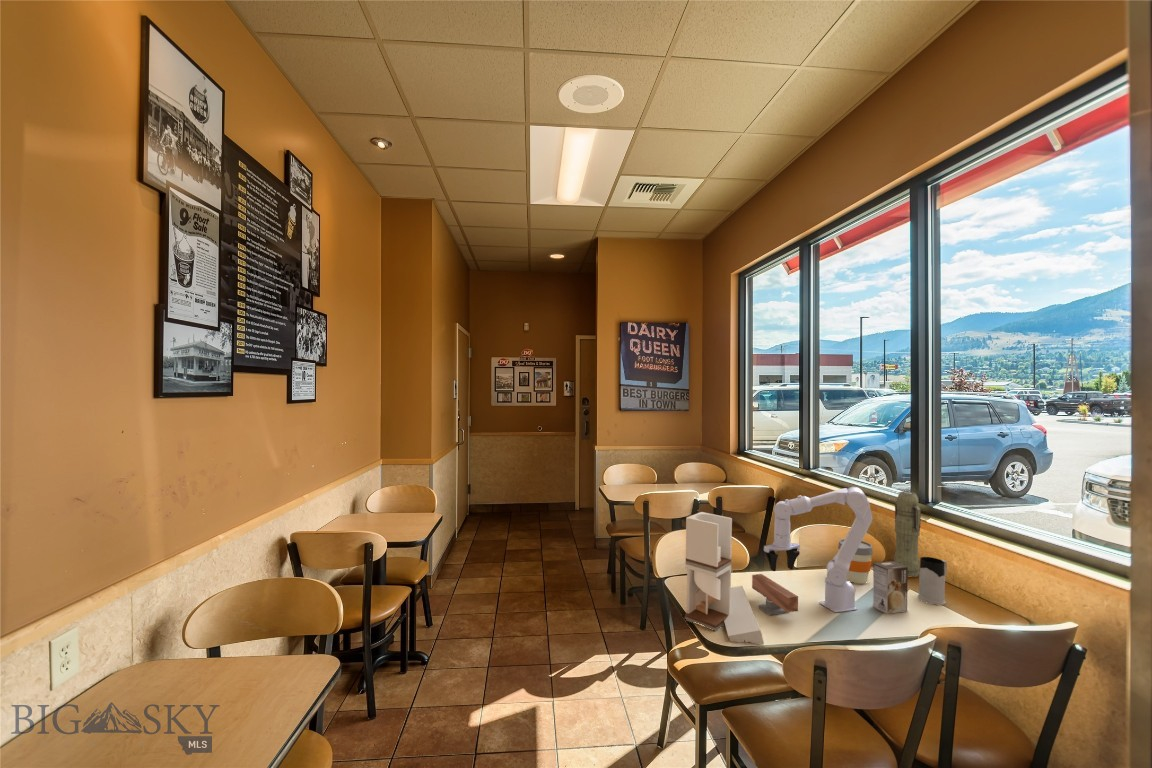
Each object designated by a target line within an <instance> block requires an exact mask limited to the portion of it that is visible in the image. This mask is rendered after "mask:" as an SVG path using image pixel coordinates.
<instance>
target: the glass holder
mask: <svg viewBox="0 0 1152 768" xmlns="http://www.w3.org/2000/svg"><path fill="white" fill-rule="evenodd" d="M947 570H948V563H947V561H946V560H943V559H941V558H940V559H939V558H935V557H931V556H921V557H920V559H919V571H918V574H919V576H918V577H919V579H918V580H919V581H918V584H919V585H918V588H919V589H918V594H917V599H918V598H919V599H918V600H920V601H921V600H922V602H925V603H926V602H927V603H926V604H931V605H934V604H936V606H944V604H945V603H946V604H947V601H946V599H945V597H946V596H945V592H946V577H947ZM946 604H945V605H946Z"/></svg>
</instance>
